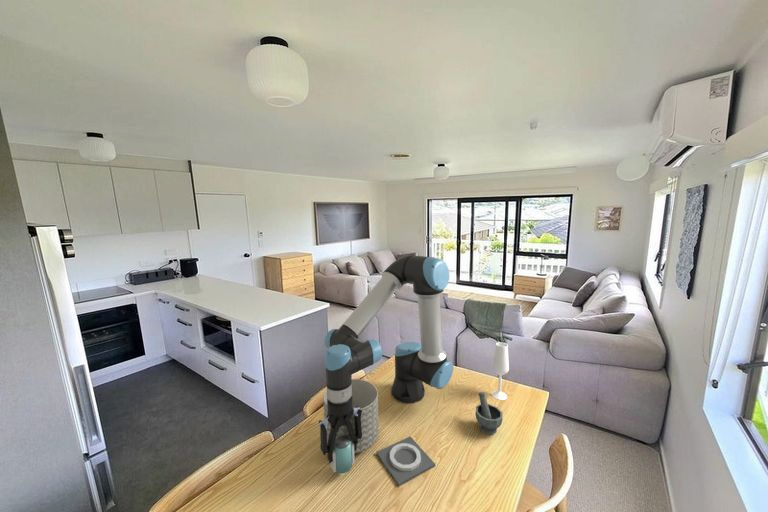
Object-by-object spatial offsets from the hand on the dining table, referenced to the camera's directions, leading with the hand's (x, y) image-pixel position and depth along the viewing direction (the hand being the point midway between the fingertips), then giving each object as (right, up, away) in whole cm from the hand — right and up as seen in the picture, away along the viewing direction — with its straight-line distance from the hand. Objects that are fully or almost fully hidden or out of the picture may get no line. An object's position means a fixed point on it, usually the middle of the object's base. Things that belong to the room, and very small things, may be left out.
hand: (342, 464), depth 92 cm
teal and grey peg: (0, 0, 0) cm, 0 cm away
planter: (+1, -1, +13) cm, 14 cm away
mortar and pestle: (+52, 0, +20) cm, 56 cm away
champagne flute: (+65, +3, +39) cm, 76 cm away
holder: (+20, -2, +5) cm, 21 cm away
